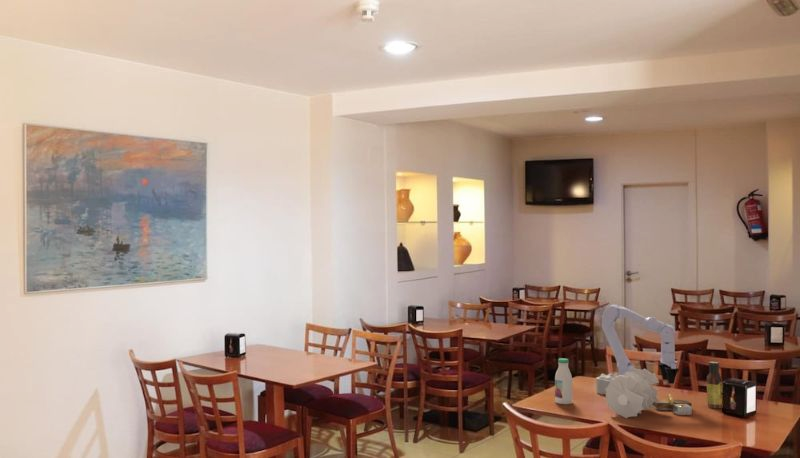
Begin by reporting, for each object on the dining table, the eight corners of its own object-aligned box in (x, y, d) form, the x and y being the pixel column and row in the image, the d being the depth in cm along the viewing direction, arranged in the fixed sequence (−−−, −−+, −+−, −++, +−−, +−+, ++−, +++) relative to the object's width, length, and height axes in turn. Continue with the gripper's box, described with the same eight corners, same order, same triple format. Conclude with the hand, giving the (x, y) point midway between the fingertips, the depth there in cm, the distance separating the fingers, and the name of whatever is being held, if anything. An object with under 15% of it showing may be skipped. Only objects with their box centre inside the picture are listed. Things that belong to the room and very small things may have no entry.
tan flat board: (655, 409, 283) (655, 403, 283) (651, 406, 289) (651, 399, 289) (692, 410, 282) (692, 403, 282) (686, 406, 288) (686, 399, 288)
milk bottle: (570, 400, 300) (570, 357, 300) (573, 405, 292) (573, 360, 292) (554, 400, 300) (553, 357, 301) (556, 404, 293) (555, 360, 293)
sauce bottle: (724, 409, 283) (724, 364, 283) (709, 408, 284) (708, 363, 284) (720, 405, 289) (719, 361, 289) (705, 405, 290) (704, 360, 290)
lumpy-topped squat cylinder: (593, 392, 314) (593, 375, 314) (608, 388, 323) (607, 371, 323) (612, 396, 306) (612, 378, 307) (627, 392, 315) (626, 374, 315)
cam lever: (673, 405, 278) (673, 399, 278) (669, 404, 279) (669, 398, 279) (672, 400, 286) (672, 394, 286) (667, 400, 287) (667, 394, 287)
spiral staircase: (612, 426, 272) (632, 410, 292) (651, 415, 262) (669, 399, 281) (593, 385, 276) (614, 372, 296) (630, 372, 266) (649, 359, 286)
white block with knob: (677, 415, 275) (677, 406, 275) (673, 412, 280) (672, 403, 280) (691, 415, 275) (691, 405, 275) (686, 412, 280) (686, 403, 280)
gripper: (683, 354, 286) (683, 385, 286) (671, 348, 301) (671, 378, 300) (666, 354, 287) (667, 385, 286) (655, 348, 301) (656, 377, 301)
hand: (668, 381), depth 293 cm, fingers open, 7 cm apart
